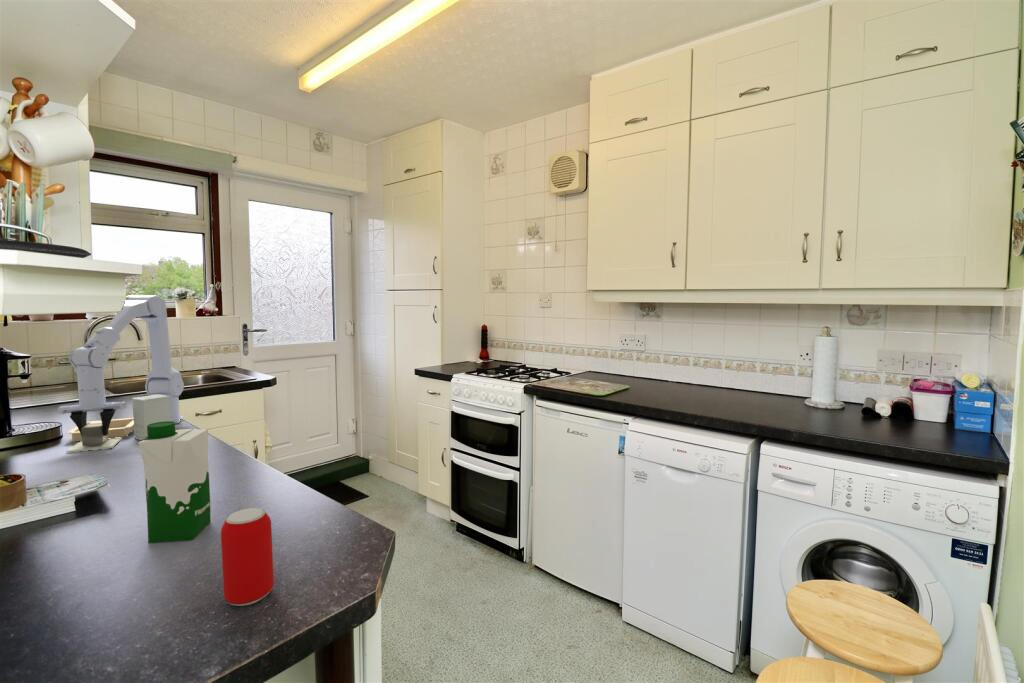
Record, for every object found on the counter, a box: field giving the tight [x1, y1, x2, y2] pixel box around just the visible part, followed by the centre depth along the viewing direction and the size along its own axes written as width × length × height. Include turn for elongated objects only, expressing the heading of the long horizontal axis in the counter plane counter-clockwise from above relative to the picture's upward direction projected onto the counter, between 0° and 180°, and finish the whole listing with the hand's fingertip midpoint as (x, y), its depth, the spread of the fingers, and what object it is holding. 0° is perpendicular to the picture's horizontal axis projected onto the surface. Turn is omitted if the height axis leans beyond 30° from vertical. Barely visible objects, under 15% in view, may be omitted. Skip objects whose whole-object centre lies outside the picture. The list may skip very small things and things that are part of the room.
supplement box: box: [131, 394, 171, 441], centre depth 147 cm, size 7×7×13 cm
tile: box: [66, 437, 123, 454], centre depth 139 cm, size 10×10×1 cm
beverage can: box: [220, 507, 275, 607], centre depth 68 cm, size 6×6×12 cm
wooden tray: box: [66, 417, 134, 443], centre depth 151 cm, size 15×15×3 cm
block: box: [81, 422, 109, 446], centre depth 140 cm, size 8×4×5 cm, turn 26°
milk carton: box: [137, 421, 211, 544], centre depth 87 cm, size 9×9×20 cm
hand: (95, 436), depth 139 cm, fingers closed on block, 4 cm apart
